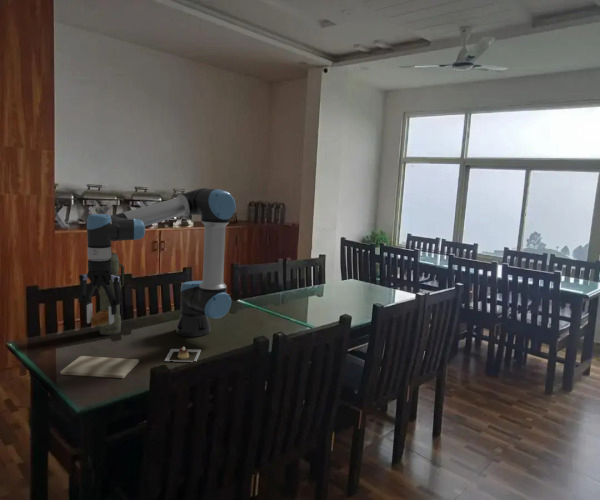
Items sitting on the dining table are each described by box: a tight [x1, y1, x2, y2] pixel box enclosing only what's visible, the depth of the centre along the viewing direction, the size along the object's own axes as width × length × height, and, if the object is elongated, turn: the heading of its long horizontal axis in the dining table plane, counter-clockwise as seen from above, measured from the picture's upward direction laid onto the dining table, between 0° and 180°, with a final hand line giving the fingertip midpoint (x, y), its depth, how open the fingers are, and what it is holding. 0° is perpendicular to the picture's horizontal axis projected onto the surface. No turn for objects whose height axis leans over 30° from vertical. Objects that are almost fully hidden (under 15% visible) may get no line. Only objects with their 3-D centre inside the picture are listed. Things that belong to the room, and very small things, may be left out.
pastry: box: [91, 310, 109, 327], centre depth 162 cm, size 9×7×4 cm
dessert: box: [164, 346, 202, 363], centre depth 179 cm, size 12×12×5 cm
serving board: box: [59, 355, 140, 379], centre depth 165 cm, size 22×14×1 cm, turn 88°
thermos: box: [95, 252, 125, 336], centre depth 199 cm, size 9×12×35 cm
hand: (100, 322), depth 162 cm, fingers closed on pastry, 7 cm apart
